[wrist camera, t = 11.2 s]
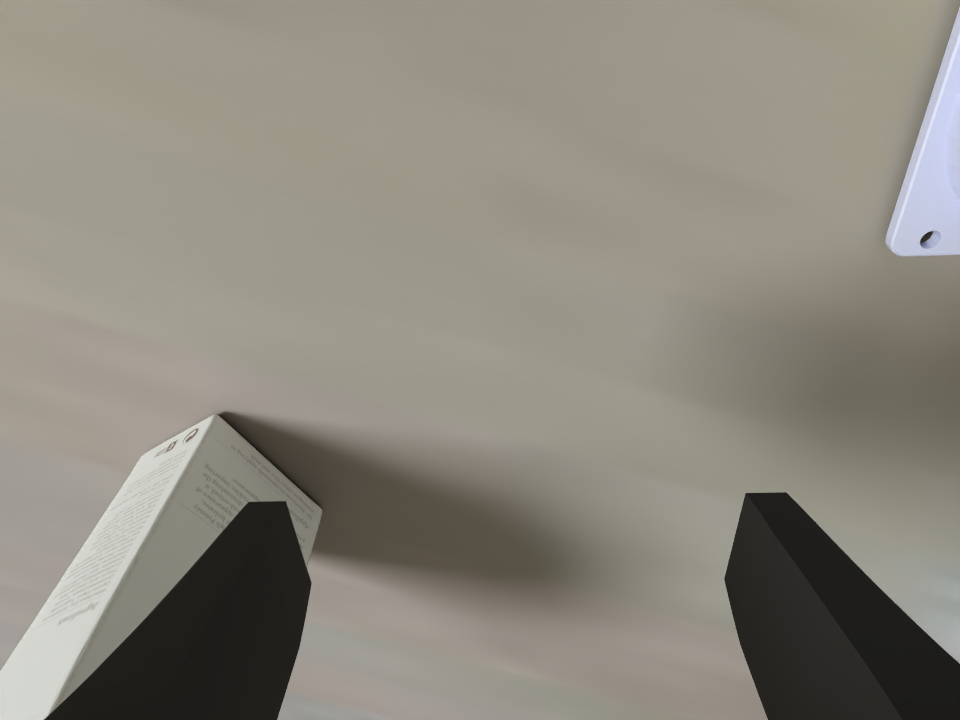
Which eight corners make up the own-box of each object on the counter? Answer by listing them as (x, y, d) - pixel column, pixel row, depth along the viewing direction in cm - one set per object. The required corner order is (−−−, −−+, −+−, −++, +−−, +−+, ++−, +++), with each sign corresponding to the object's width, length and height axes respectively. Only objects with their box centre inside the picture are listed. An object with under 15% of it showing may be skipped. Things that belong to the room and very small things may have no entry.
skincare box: (140, 452, 24) (-129, 829, 14) (223, 403, 22) (-11, 787, 12) (255, 547, 27) (100, 919, 17) (337, 509, 25) (220, 893, 15)
